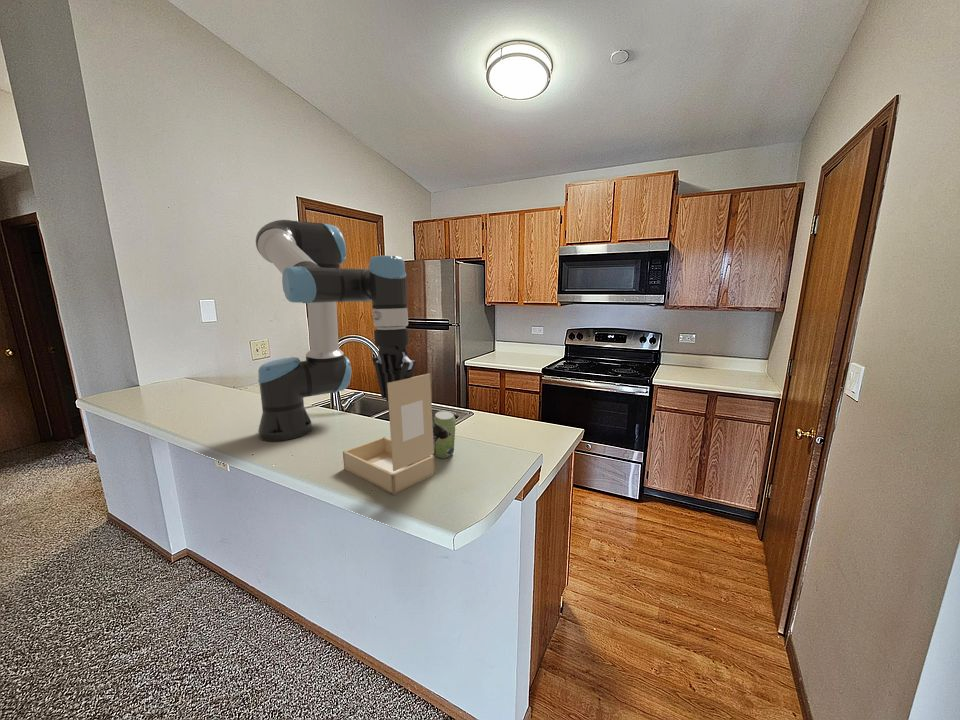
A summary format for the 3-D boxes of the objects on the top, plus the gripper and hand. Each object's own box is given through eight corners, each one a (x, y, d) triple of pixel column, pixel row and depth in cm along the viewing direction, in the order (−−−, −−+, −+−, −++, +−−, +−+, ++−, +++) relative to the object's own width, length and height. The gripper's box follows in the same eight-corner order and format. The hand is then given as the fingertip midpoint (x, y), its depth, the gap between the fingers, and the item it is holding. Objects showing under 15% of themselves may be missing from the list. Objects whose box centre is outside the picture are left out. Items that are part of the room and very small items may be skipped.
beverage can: (444, 448, 106) (443, 407, 104) (461, 455, 101) (460, 412, 99) (426, 455, 102) (424, 412, 100) (443, 463, 97) (442, 418, 95)
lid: (387, 382, 78) (388, 383, 78) (428, 373, 87) (430, 373, 86) (393, 470, 81) (394, 471, 81) (432, 453, 90) (434, 453, 90)
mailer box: (344, 468, 94) (342, 451, 93) (385, 452, 104) (384, 436, 103) (393, 495, 82) (392, 475, 81) (435, 474, 91) (434, 456, 90)
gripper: (359, 328, 85) (367, 427, 89) (395, 330, 77) (402, 440, 81) (387, 325, 91) (393, 419, 95) (423, 327, 83) (428, 430, 86)
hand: (397, 429), depth 88 cm, fingers closed
